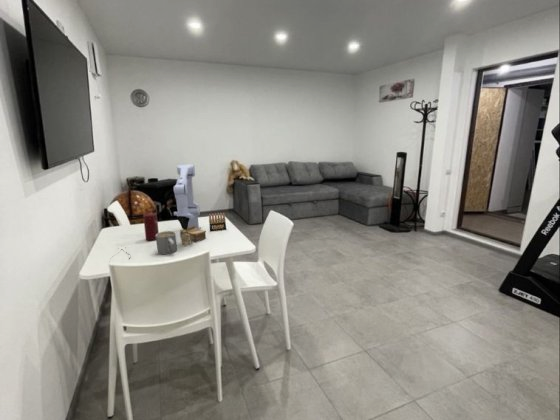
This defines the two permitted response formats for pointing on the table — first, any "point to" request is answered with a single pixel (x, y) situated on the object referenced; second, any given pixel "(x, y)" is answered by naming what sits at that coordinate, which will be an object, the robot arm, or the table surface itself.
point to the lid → (193, 231)
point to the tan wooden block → (185, 239)
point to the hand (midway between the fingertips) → (184, 228)
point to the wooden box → (195, 237)
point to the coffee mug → (166, 242)
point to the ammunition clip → (216, 224)
